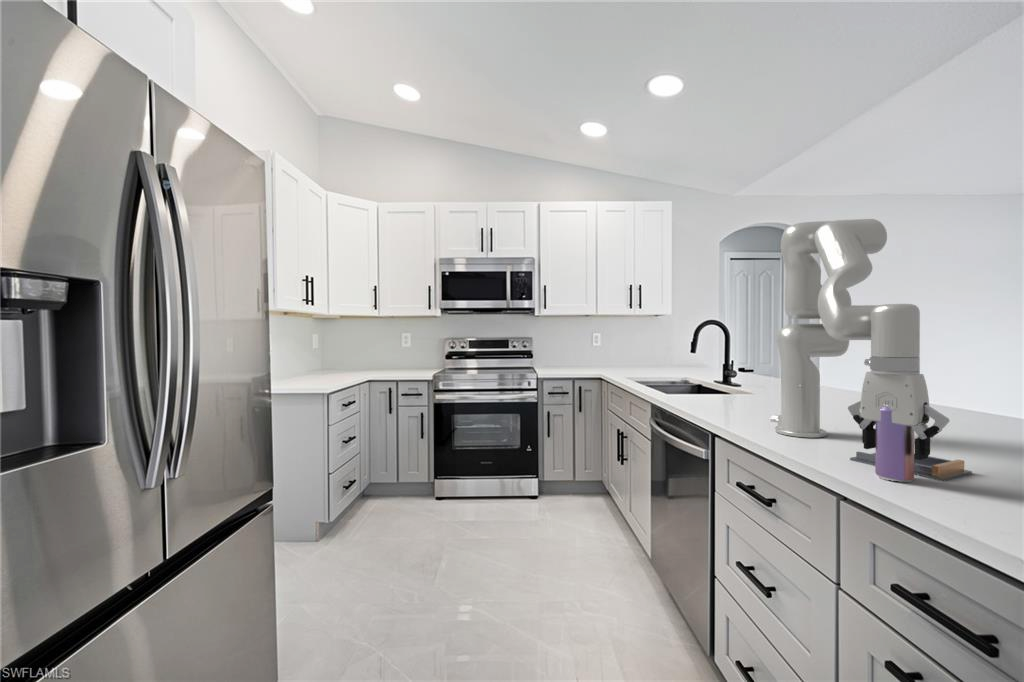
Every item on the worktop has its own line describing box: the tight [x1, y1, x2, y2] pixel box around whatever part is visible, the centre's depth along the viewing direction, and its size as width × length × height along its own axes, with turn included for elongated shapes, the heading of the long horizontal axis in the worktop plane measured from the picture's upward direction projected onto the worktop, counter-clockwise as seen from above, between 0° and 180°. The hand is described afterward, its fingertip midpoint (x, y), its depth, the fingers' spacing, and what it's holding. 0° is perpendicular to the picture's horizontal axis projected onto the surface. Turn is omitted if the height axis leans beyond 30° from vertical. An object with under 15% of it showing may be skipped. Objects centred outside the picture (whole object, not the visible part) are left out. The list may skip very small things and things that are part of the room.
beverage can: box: [874, 405, 915, 483], centre depth 93 cm, size 6×6×15 cm
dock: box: [849, 451, 973, 482], centre depth 101 cm, size 17×11×2 cm, turn 24°
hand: (894, 452), depth 93 cm, fingers open, 8 cm apart
